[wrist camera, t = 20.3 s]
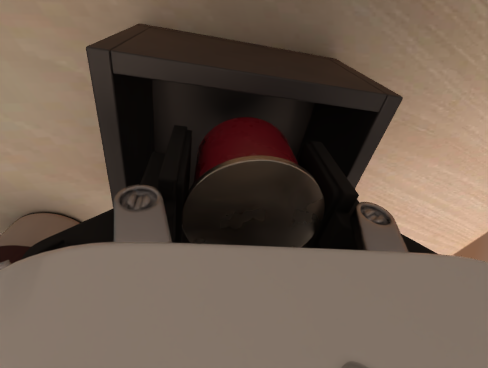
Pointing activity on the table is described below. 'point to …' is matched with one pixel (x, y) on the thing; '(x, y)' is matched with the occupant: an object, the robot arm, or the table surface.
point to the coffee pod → (250, 189)
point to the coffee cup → (30, 233)
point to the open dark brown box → (227, 98)
